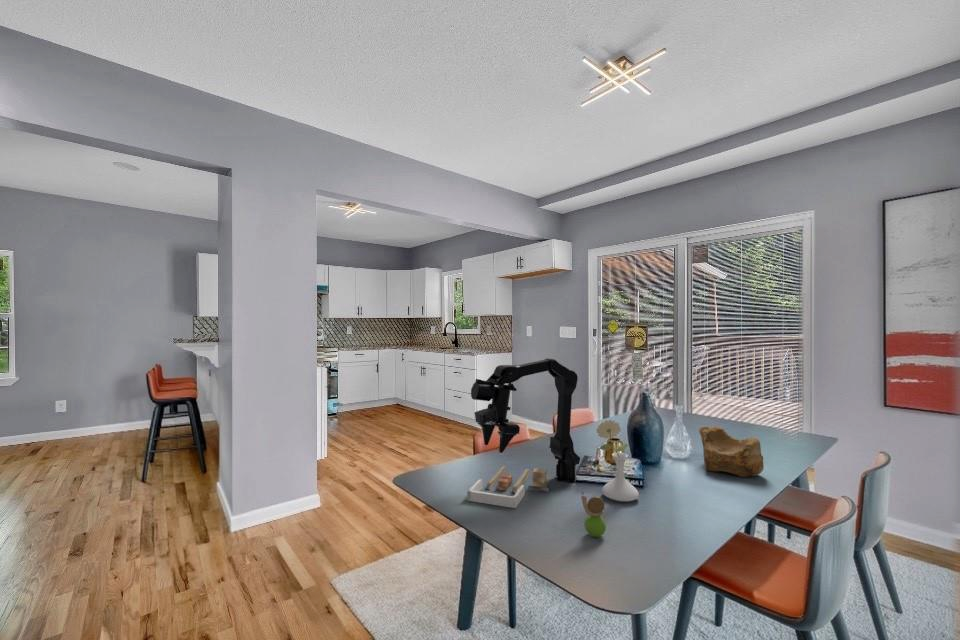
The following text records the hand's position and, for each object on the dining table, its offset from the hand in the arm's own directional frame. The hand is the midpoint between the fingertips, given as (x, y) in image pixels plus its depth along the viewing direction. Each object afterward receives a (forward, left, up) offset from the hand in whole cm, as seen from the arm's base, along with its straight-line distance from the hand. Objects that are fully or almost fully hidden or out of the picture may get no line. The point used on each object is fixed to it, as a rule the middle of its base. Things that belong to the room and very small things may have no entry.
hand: (493, 448), depth 140 cm
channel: (-2, -11, -15) cm, 18 cm away
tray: (-2, +4, -14) cm, 15 cm away
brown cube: (-2, -8, -15) cm, 17 cm away
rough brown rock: (-76, -49, -15) cm, 92 cm away
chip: (-2, -4, -15) cm, 15 cm away
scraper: (-14, -9, -15) cm, 22 cm away
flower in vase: (-39, -10, -15) cm, 43 cm away
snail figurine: (-34, +18, -15) cm, 42 cm away
